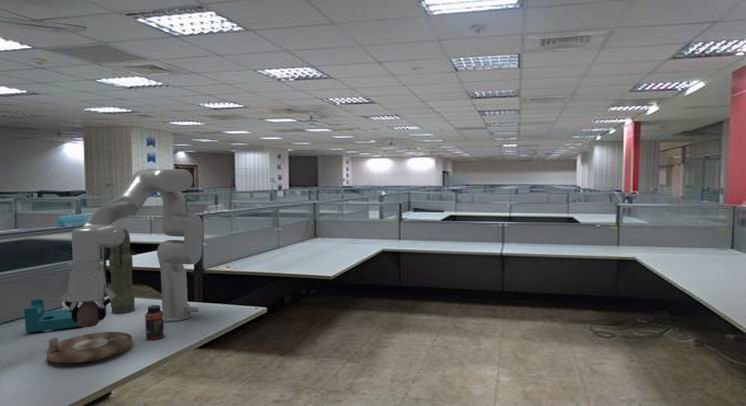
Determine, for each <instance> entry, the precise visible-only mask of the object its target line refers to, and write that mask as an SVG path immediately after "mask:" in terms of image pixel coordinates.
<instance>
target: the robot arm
mask: <svg viewBox="0 0 746 406" xmlns="http://www.w3.org/2000/svg"><path fill="white" fill-rule="evenodd" d="M193 181H194V179H193V175H192V174H191V172H190V171H189V170H187V169H184V168H173V169H172V168H171V169H170V168H169V169H168V168H166V169H165V168H163V169H157V168H156V169H141V170H138V171H136V172H135V173H134V174H133V175H132V176H131V178H130V179H129V181H128V182H127V183H126V185H125V186H124V187H123V188H122V190H121V191H120V193H119V194H118V196H116V197H115V198H114V199H112V200H111V201H108V203H105V204H104V205H103V206H101V207H99V208H98V209H97V210H95V211H94V212H93V213H92V214H91V215H90V216H89V218H88V219H87V220H86V221H85V223H84V225H83V226H82V227H77V228H74V229H72V231H71V246H72V247H71V249H72V261H71V262H68V264H67V266H68V268H72V270H71V271H70V273H69V277H68V288H67V291H66V292H65V293H64V294H63V295H62V296H60V298H59V300H60V301H61V302H64V303H65V305H66V306H68V307H69V308H70V310H71V312H72V319H73V322H76V321H77V311H78V308H79V307H78V304H79V302H97V305H98V306H99V307H100V308H99V320H100V321H103V320H104V319H105V318H106V317H107V306H108V305H109V304H111V300H112V299H113V298H114V297H115V296H116V294H115V293H113V292H112V289H110V288H108V287H107V283H106V277H105V272H104V269H103V268H102V267H101V252H100V249H102V248H110V247H115V246H118V245H120V244H121V243H122V242H123V240H124V238H125V233H124V231H123V229H124V228H122V227H120V226H118V225H116V224H115V225H114V224H113V223H115V222H116V221H118V220H120V219H123V218H124V219H125V218H127V217H129V216H132V215H134V214H136V213H138V212H139V211H140V210H141V209H142V208H143V206H144V204H145V203H146V201H147V199H148V198H149V197H150V196H151V194H153V193H158V194H159V196H160V197H161V199H162V232H163V233H164V235H166V236H168V237H178V238H179V237H181V238H183V239H167V240H164V241H162V242H161V243H159V245H158V247H157V249H156V254H157V256H156V257H157V259H158V263H159V269H160V284H161V285H160V286H161V287H160V288H161V307H162V308H161V311H162V312H163V315H164V323H165V322H166V323H167V322H168V323H169V322H178V321H179V322H180V321H184V320H187V319H190V318H191V317H192V316H193V313H200V307H197V306H191V305H190V303H188V283H187V281H188V279H187V277H188V276H187V270H186V268H185V266H184V265H196V264H197V263H198V262H199V261H200V260H201V258H202V254H203V238H204V236H203V235H204V225H203V221H202V218H201V217H200V216H199V215H198V214H196V213H193V212H187V211H186V210H187V209H186V208H187V207H186V205H187V204H186V197H185V196H184V194H183V192H185V191H187V190H189V189H190V188H191V187H192V185H193ZM70 295H71V296H70ZM107 295H108V297H107V299H106V296H107Z"/></svg>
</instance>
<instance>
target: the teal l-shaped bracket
mask: <svg viewBox="0 0 746 406" xmlns="http://www.w3.org/2000/svg"><path fill="white" fill-rule="evenodd" d="M23 312H24V323H25V325H24V326H25V333H27V334H28V333H34V332H42V331H50V330H59V329H68V328H77V327H81V326H80V325H79V323H78V322H77V321H76V322H73V319H72V312H71V310H70V309H66V310H65V309H57V310H49V311H47V310H46V311H45V307H44V298H33V299H31V300H30V307H24V308H23Z"/></svg>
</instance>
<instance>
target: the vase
mask: <svg viewBox="0 0 746 406" xmlns="http://www.w3.org/2000/svg"><path fill="white" fill-rule="evenodd" d="M99 308H100V306H99V304H98V303H96V301H94V302H83V303H82V304H81V306H80V307H79V308H78V311H77V322H78V323H79V325H80V326H79V327H82V328H93V327H96V326H97V325H98V324H99V323H100V322H101V320H99Z"/></svg>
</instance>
